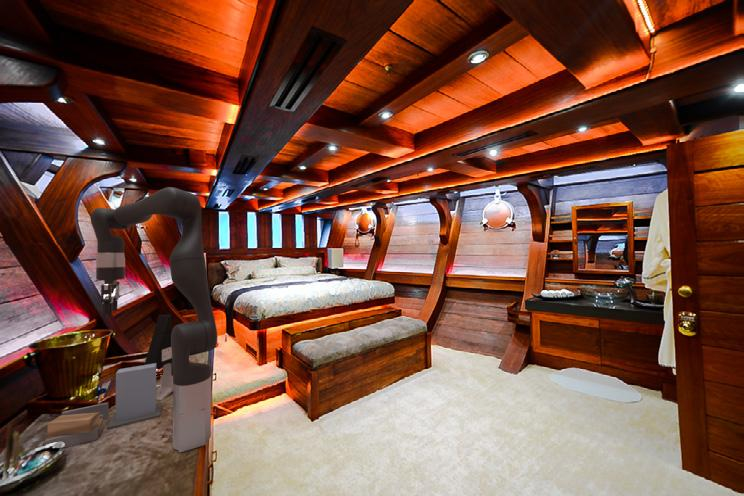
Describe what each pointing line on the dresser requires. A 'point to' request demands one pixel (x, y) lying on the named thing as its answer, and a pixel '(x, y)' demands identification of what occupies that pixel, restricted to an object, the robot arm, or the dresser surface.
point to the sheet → (135, 391)
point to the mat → (134, 418)
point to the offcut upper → (73, 424)
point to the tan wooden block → (82, 437)
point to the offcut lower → (100, 427)
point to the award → (162, 354)
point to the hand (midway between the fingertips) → (110, 312)
